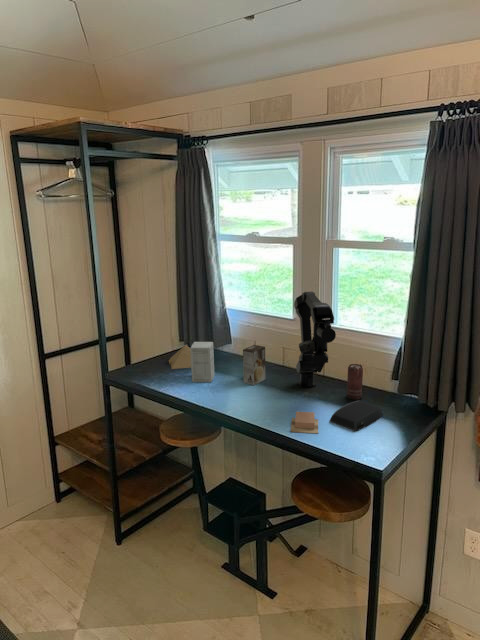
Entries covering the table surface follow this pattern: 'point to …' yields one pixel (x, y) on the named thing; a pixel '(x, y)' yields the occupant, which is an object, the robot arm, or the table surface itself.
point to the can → (354, 381)
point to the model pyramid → (181, 358)
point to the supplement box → (202, 361)
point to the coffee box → (254, 364)
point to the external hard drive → (356, 415)
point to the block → (305, 420)
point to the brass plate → (304, 430)
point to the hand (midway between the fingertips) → (319, 371)
